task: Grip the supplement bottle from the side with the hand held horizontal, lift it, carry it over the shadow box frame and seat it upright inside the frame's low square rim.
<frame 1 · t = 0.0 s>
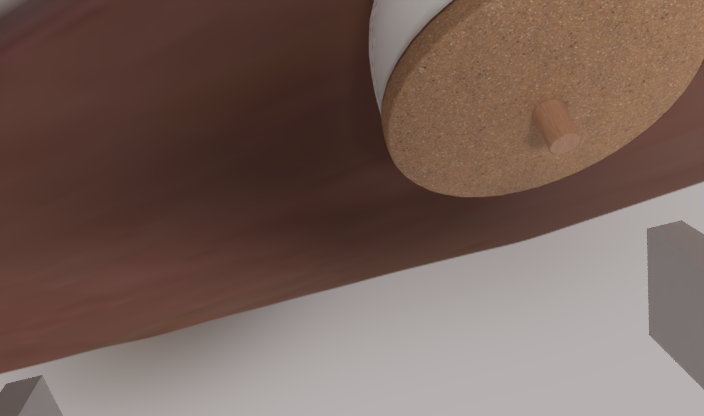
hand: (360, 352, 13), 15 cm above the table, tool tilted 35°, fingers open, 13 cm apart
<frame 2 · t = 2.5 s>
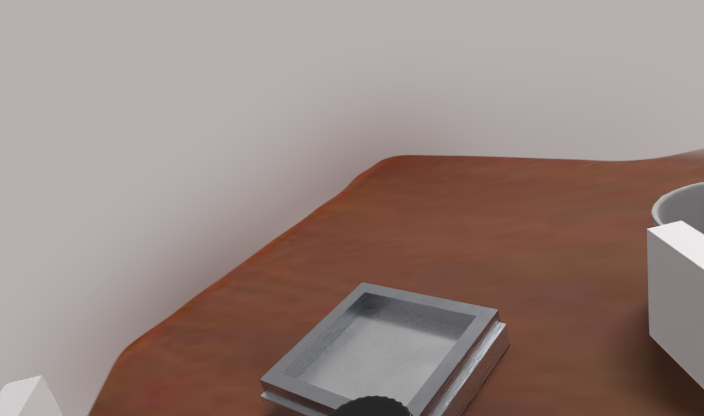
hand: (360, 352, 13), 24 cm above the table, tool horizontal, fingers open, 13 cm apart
shadow box frame: (389, 379, 47), on the table
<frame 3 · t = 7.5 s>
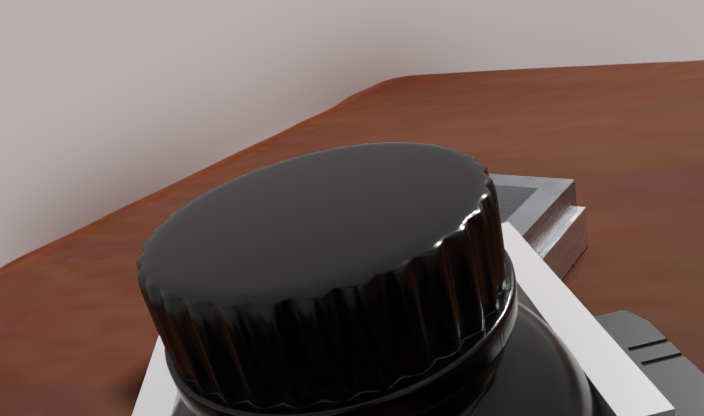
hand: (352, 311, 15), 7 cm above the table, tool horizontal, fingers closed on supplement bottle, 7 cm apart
shadow box frame: (385, 294, 28), on the table
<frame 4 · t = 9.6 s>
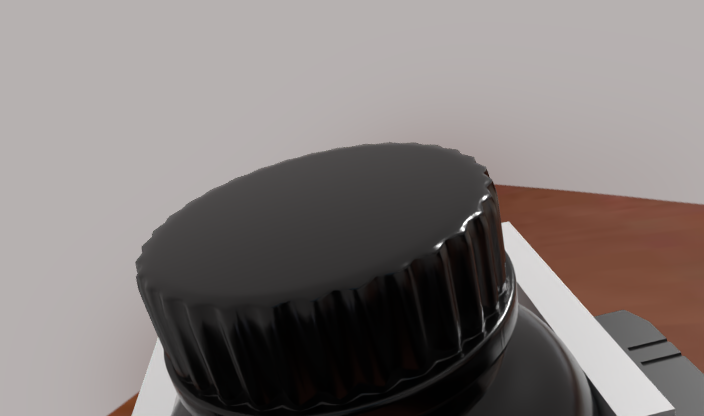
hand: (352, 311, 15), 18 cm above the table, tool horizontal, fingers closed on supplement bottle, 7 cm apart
when the fingers open (10 cm above the table, at t = 11.8 s): supplement bottle drops 1 cm, resting on shadow box frame.
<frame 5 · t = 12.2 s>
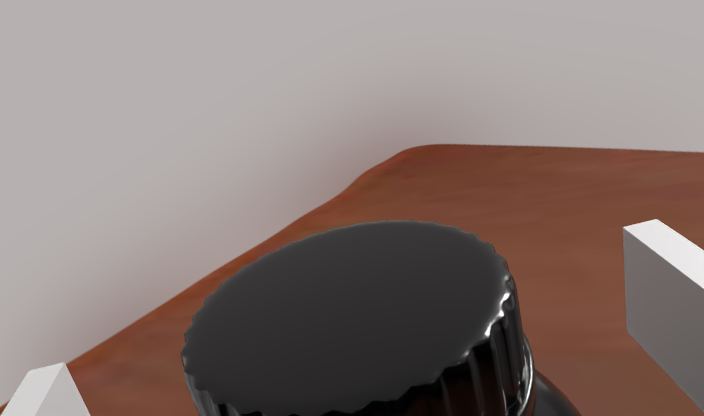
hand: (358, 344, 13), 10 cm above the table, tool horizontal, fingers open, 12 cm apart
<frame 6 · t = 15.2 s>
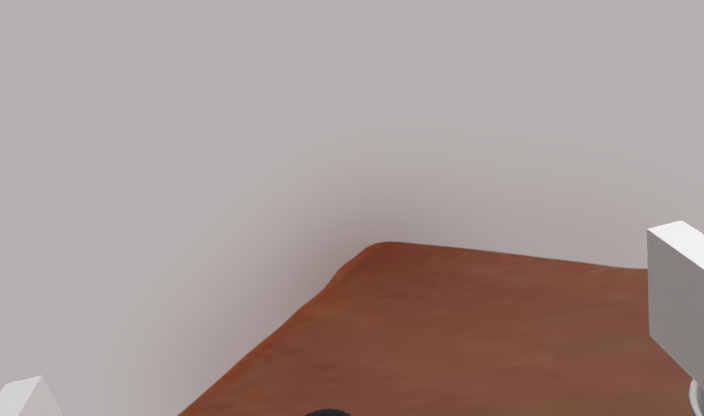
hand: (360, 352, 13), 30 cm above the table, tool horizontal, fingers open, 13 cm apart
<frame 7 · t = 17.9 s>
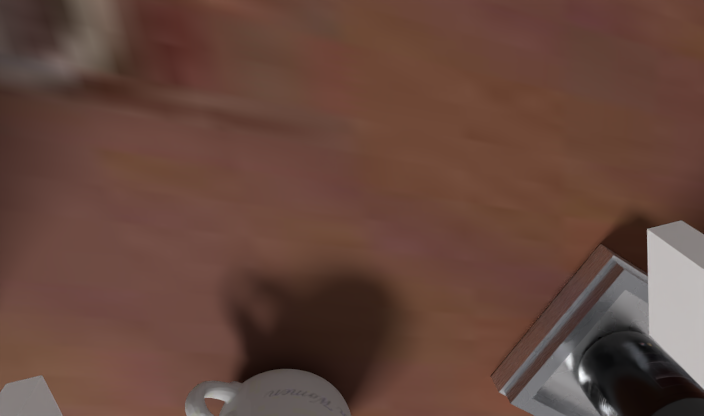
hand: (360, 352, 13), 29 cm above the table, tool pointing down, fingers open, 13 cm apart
shadow box frame: (606, 348, 50), on the table
supplement bottle: (614, 361, 48), point 2 cm above the table, touching shadow box frame
teacup: (271, 391, 48), on the table
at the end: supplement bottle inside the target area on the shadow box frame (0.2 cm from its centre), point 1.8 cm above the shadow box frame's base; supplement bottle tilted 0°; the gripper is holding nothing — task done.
